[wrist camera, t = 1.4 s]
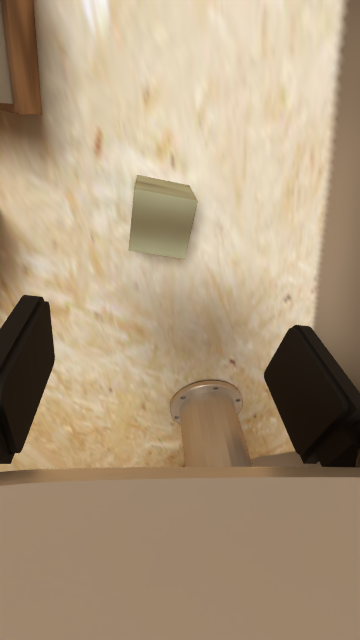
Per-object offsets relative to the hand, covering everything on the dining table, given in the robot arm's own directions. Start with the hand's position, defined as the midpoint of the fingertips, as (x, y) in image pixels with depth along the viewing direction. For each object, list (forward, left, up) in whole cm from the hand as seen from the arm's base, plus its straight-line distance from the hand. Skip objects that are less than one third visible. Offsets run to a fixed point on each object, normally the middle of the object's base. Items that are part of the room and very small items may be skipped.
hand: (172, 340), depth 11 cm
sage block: (0, 0, -21) cm, 21 cm away
